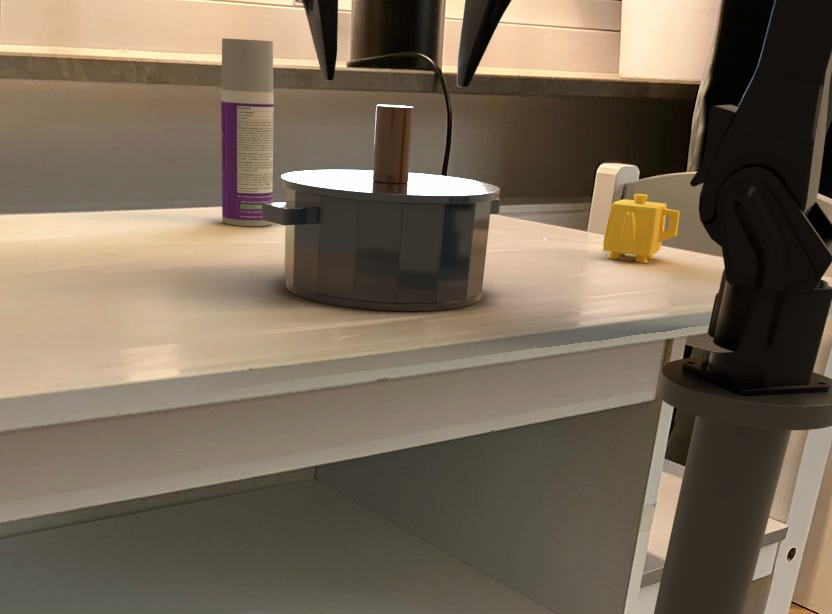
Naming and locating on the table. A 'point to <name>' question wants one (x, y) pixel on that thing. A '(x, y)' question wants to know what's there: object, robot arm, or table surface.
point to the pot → (383, 251)
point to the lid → (390, 172)
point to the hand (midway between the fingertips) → (396, 83)
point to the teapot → (638, 228)
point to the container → (246, 130)
